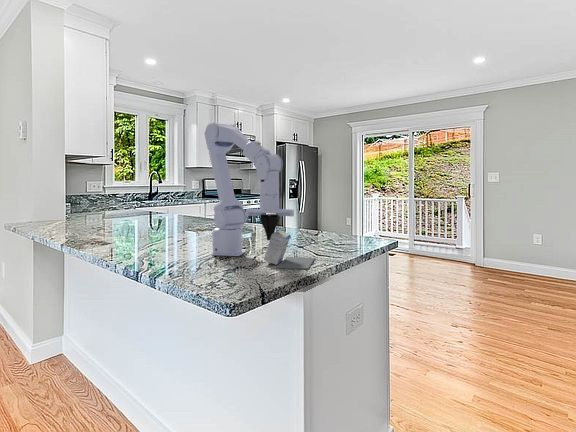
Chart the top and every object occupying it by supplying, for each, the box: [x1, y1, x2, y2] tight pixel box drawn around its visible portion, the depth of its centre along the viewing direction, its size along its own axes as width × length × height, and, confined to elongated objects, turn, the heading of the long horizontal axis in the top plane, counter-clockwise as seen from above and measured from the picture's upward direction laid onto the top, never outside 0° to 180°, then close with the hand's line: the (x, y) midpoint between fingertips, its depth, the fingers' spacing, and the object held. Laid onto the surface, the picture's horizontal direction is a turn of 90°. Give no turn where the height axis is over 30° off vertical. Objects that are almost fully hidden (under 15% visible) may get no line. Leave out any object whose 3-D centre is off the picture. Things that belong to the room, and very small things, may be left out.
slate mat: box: [276, 256, 316, 271], centre depth 110 cm, size 9×14×1 cm, turn 168°
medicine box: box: [263, 230, 291, 266], centre depth 111 cm, size 8×4×9 cm, turn 168°
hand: (270, 239), depth 111 cm, fingers closed
